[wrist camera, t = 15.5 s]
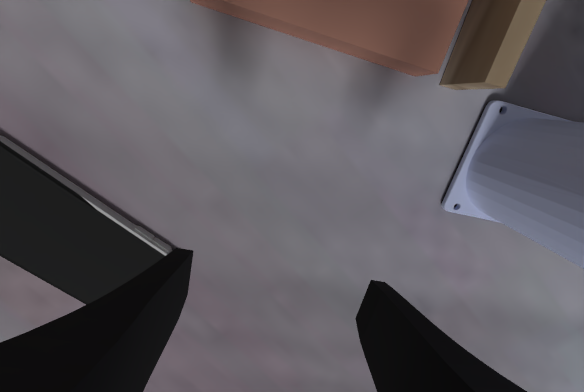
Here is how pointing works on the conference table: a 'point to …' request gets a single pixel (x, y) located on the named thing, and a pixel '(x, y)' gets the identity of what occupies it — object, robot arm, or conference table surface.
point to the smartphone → (67, 230)
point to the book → (361, 27)
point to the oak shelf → (490, 43)
